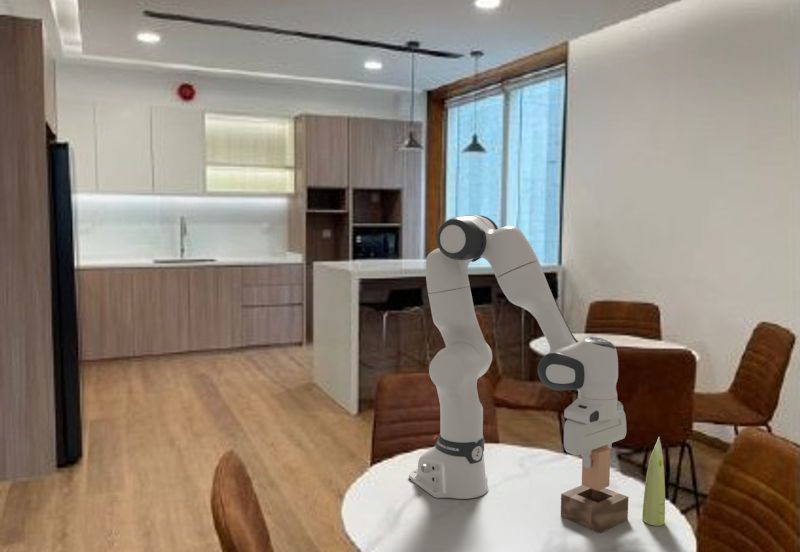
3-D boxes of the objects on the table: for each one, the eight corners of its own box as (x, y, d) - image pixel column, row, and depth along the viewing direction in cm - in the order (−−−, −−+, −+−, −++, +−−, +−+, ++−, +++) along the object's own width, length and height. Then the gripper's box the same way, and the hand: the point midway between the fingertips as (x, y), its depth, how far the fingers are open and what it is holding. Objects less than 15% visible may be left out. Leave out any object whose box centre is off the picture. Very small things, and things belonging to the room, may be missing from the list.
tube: (671, 526, 151) (674, 444, 150) (651, 528, 150) (654, 446, 149) (656, 515, 157) (659, 436, 155) (637, 517, 156) (640, 437, 154)
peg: (581, 484, 155) (582, 447, 155) (593, 480, 158) (594, 443, 157) (598, 490, 152) (599, 453, 151) (609, 485, 155) (610, 448, 154)
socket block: (560, 515, 157) (561, 493, 156) (588, 503, 164) (588, 482, 163) (600, 533, 148) (601, 509, 148) (627, 519, 155) (628, 496, 155)
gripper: (611, 396, 162) (609, 450, 164) (559, 411, 150) (558, 470, 151) (634, 402, 158) (632, 458, 159) (582, 418, 145) (581, 478, 146)
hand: (595, 464), depth 155 cm, fingers closed on peg, 4 cm apart
